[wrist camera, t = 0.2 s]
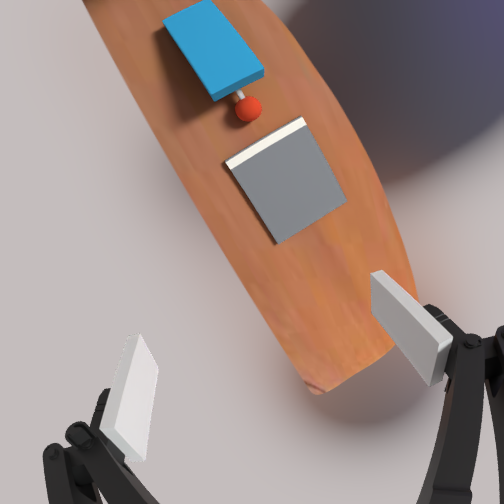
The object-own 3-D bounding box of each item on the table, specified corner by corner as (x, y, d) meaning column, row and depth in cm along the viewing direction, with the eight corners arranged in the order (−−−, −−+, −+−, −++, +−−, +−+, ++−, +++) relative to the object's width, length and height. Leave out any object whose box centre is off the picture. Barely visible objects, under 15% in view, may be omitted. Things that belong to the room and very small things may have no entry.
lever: (174, 44, 36) (232, 135, 38) (161, 20, 29) (227, 119, 31) (215, 24, 36) (277, 111, 37) (208, -3, 29) (281, 92, 30)
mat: (224, 160, 39) (224, 161, 38) (299, 116, 38) (301, 115, 37) (277, 243, 44) (278, 244, 44) (345, 200, 43) (347, 201, 42)
